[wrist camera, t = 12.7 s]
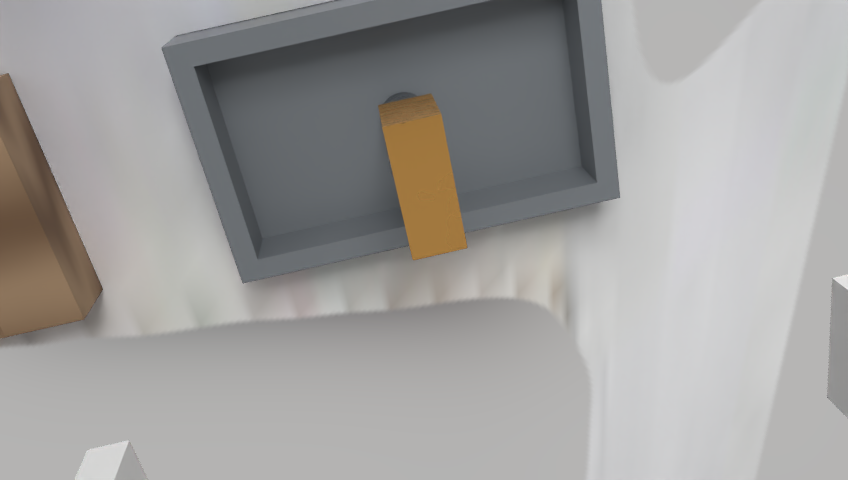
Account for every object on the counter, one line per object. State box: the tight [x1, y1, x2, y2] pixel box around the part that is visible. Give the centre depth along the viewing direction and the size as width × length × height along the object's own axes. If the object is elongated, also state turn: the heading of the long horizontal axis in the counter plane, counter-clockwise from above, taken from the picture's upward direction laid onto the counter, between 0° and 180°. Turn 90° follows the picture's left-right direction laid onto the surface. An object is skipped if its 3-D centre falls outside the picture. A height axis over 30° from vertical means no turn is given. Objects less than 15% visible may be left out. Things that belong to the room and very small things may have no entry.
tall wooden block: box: [378, 92, 467, 260], centre depth 30 cm, size 5×2×10 cm, turn 11°
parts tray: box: [162, 0, 620, 283], centre depth 34 cm, size 11×18×3 cm, turn 101°
